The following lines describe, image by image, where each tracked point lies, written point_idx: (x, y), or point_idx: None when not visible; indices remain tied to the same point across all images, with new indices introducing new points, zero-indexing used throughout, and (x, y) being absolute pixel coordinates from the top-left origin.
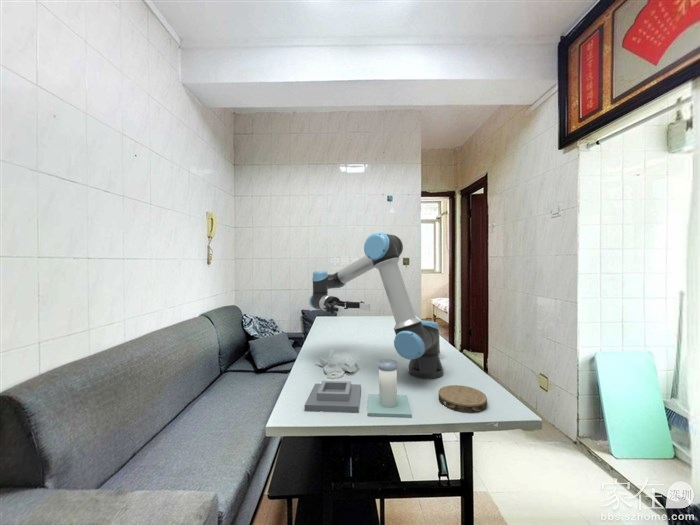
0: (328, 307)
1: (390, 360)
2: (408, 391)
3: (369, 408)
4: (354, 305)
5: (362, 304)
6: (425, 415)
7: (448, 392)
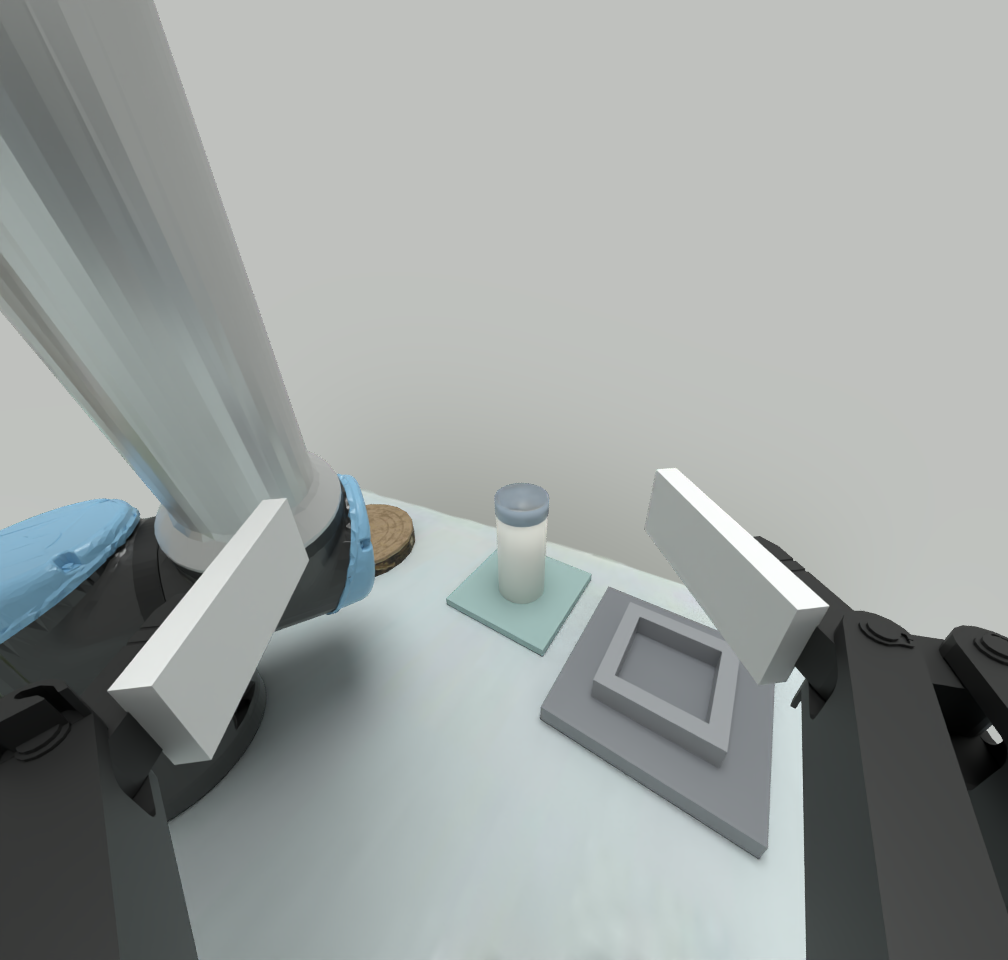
0: (949, 641)
1: (504, 501)
2: (408, 630)
3: (578, 586)
4: (152, 895)
5: (224, 609)
6: (476, 541)
7: (373, 546)
